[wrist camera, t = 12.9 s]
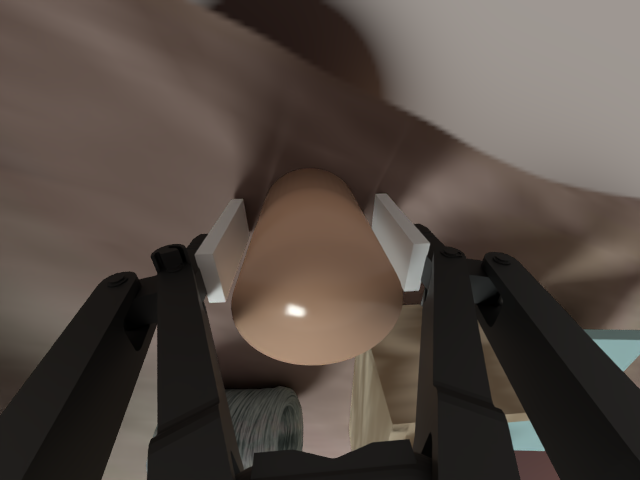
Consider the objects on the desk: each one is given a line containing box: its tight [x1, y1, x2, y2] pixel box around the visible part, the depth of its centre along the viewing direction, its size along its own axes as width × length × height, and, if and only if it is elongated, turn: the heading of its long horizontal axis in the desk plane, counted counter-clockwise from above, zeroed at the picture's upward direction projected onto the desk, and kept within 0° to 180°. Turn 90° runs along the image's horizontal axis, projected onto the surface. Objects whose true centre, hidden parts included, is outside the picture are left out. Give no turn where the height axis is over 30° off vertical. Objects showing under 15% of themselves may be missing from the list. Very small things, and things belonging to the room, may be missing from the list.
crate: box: [349, 304, 530, 451], centre depth 24 cm, size 14×22×9 cm, turn 1°
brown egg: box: [231, 168, 403, 365], centre depth 13 cm, size 6×6×9 cm
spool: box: [146, 386, 303, 470], centre depth 24 cm, size 14×10×10 cm
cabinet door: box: [508, 329, 640, 451], centre depth 25 cm, size 1×20×9 cm
